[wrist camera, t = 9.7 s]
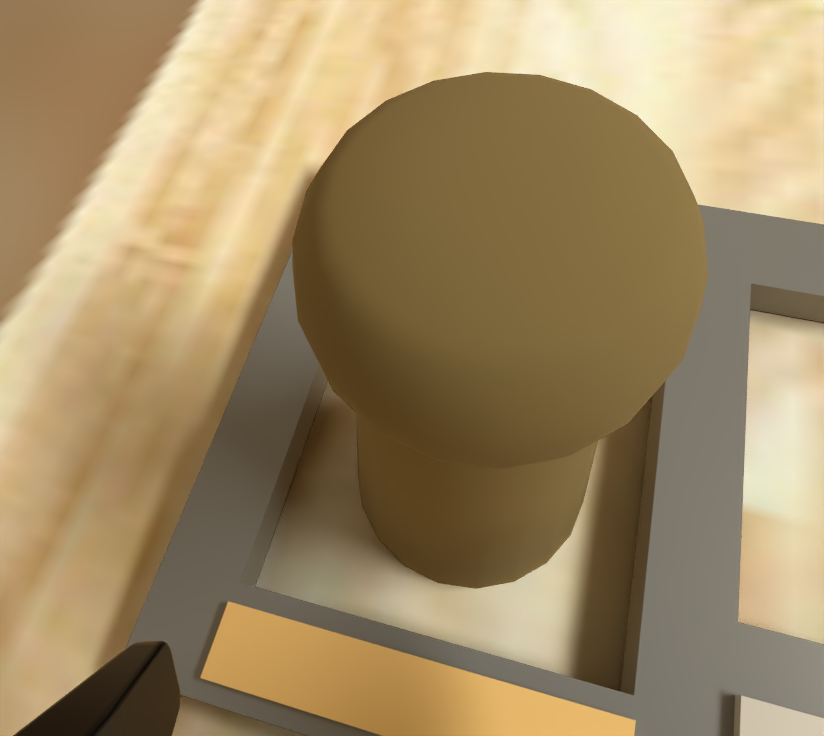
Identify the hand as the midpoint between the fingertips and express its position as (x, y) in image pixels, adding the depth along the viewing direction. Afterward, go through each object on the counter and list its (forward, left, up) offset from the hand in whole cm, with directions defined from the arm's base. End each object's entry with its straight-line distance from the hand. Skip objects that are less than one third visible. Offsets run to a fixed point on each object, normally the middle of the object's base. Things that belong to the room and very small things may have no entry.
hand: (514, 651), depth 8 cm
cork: (+4, +1, -8) cm, 9 cm away
